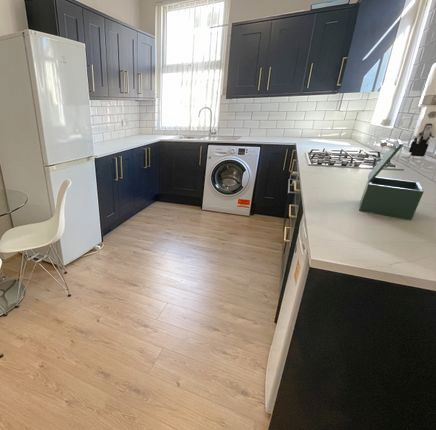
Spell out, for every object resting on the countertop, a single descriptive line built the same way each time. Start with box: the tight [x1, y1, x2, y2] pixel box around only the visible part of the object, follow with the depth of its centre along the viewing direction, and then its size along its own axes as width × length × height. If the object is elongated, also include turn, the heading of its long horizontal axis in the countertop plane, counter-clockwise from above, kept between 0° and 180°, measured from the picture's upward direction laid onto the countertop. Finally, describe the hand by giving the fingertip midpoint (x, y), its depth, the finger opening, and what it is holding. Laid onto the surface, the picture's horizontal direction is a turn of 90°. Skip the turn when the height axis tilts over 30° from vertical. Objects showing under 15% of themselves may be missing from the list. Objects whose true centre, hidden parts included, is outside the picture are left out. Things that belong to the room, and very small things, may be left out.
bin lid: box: [367, 139, 404, 183], centre depth 107 cm, size 15×16×5 cm
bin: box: [358, 176, 424, 221], centre depth 108 cm, size 15×16×11 cm
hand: (415, 154), depth 98 cm, fingers open, 9 cm apart
